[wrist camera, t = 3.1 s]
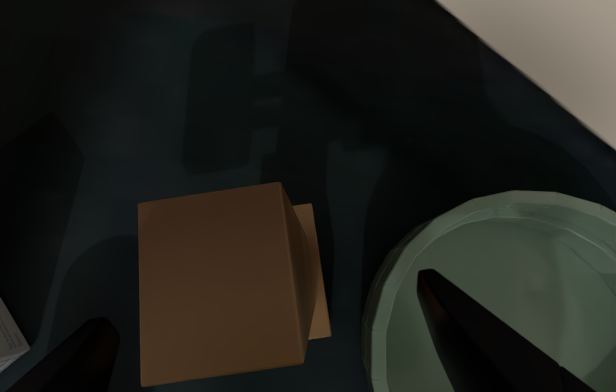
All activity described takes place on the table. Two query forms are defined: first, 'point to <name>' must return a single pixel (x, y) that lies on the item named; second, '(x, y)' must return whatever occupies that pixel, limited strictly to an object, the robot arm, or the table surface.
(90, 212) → the table surface
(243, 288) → the brown stepped block
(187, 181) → the table surface
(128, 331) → the table surface
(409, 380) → the bowl
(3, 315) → the medicine box
